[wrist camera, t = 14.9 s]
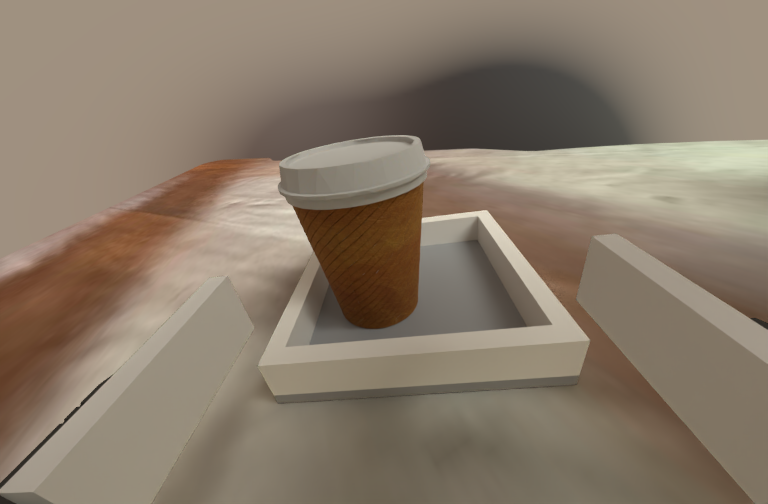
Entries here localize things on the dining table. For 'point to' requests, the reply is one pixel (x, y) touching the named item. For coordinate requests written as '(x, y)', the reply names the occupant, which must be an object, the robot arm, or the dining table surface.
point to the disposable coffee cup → (363, 221)
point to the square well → (431, 327)
